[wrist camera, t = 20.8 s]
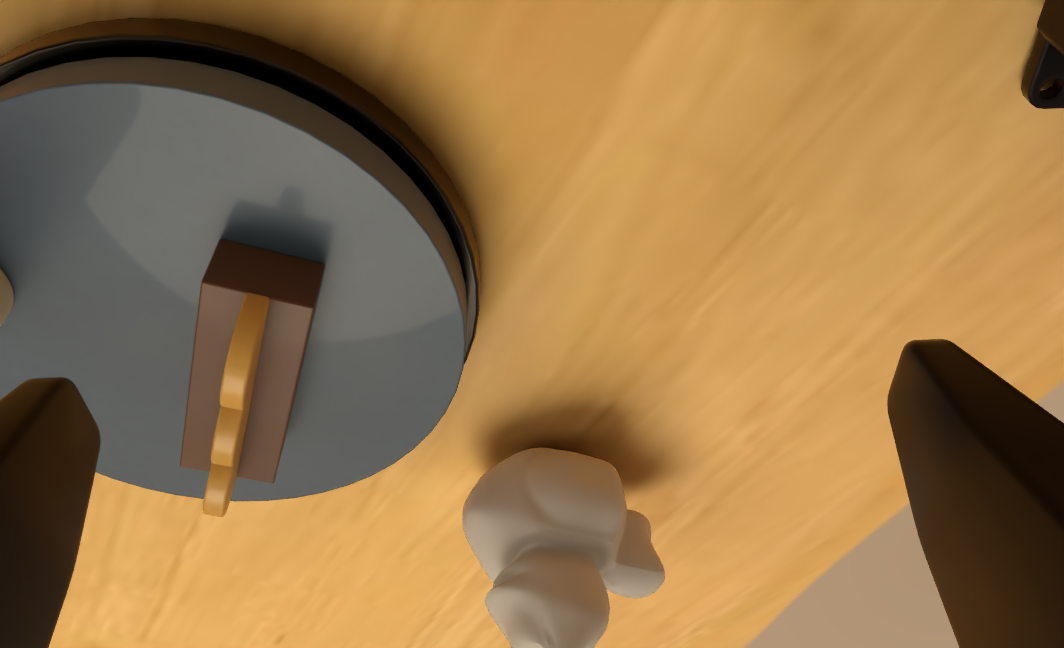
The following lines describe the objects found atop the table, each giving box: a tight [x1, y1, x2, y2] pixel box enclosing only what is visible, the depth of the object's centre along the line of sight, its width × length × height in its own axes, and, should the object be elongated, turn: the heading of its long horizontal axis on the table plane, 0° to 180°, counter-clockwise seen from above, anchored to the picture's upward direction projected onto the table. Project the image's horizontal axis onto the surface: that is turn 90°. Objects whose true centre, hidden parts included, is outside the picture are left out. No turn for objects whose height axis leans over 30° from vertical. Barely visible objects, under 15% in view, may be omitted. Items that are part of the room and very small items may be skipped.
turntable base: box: [0, 18, 480, 364], centre depth 23 cm, size 14×14×1 cm
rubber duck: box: [463, 448, 665, 648], centre depth 27 cm, size 5×7×8 cm
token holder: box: [0, 57, 468, 517], centre depth 19 cm, size 13×13×11 cm
